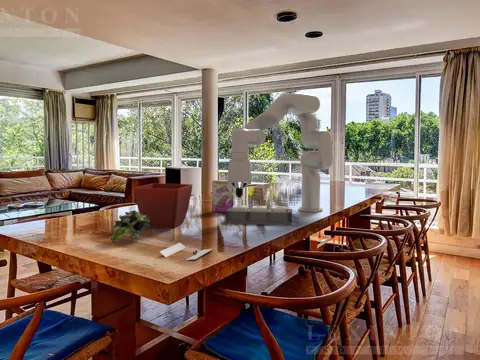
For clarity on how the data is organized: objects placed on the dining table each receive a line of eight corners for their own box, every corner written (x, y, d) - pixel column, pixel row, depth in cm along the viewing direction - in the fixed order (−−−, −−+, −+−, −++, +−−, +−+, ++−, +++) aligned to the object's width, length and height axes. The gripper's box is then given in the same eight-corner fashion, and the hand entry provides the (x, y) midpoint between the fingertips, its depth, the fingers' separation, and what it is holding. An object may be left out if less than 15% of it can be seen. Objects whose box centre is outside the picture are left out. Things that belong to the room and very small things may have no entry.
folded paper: (195, 263, 104) (195, 256, 103) (159, 258, 108) (159, 251, 108) (213, 252, 115) (213, 245, 115) (180, 248, 119) (180, 242, 119)
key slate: (234, 211, 168) (234, 204, 167) (247, 211, 167) (247, 205, 166) (232, 213, 162) (232, 206, 161) (245, 214, 161) (245, 207, 160)
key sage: (273, 212, 165) (273, 205, 165) (286, 213, 164) (286, 206, 164) (272, 214, 159) (272, 207, 159) (286, 215, 158) (286, 208, 158)
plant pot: (177, 230, 143) (177, 188, 141) (133, 228, 147) (132, 187, 145) (193, 221, 162) (193, 184, 160) (153, 220, 165) (153, 183, 164)
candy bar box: (211, 212, 186) (211, 180, 185) (213, 210, 191) (213, 179, 190) (233, 212, 185) (233, 180, 184) (234, 211, 190) (234, 180, 188)
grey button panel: (230, 217, 172) (230, 206, 172) (292, 219, 168) (292, 208, 167) (224, 223, 158) (224, 211, 158) (291, 225, 154) (292, 213, 154)
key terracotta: (253, 212, 166) (253, 205, 166) (266, 212, 165) (266, 205, 165) (252, 214, 160) (252, 207, 160) (265, 214, 159) (265, 207, 159)
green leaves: (132, 253, 132) (150, 221, 137) (142, 255, 122) (161, 220, 127) (101, 237, 127) (121, 204, 132) (109, 238, 117) (130, 202, 122)
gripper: (221, 156, 159) (221, 197, 161) (255, 156, 157) (254, 198, 159) (225, 156, 167) (224, 195, 168) (257, 156, 165) (256, 196, 166)
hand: (239, 197), depth 163 cm, fingers closed
